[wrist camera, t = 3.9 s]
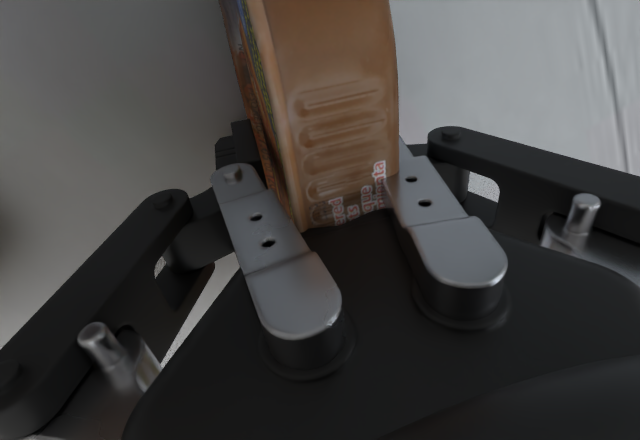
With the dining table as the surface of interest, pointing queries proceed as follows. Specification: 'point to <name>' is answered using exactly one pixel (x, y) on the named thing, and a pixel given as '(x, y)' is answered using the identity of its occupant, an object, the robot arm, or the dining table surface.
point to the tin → (319, 101)
